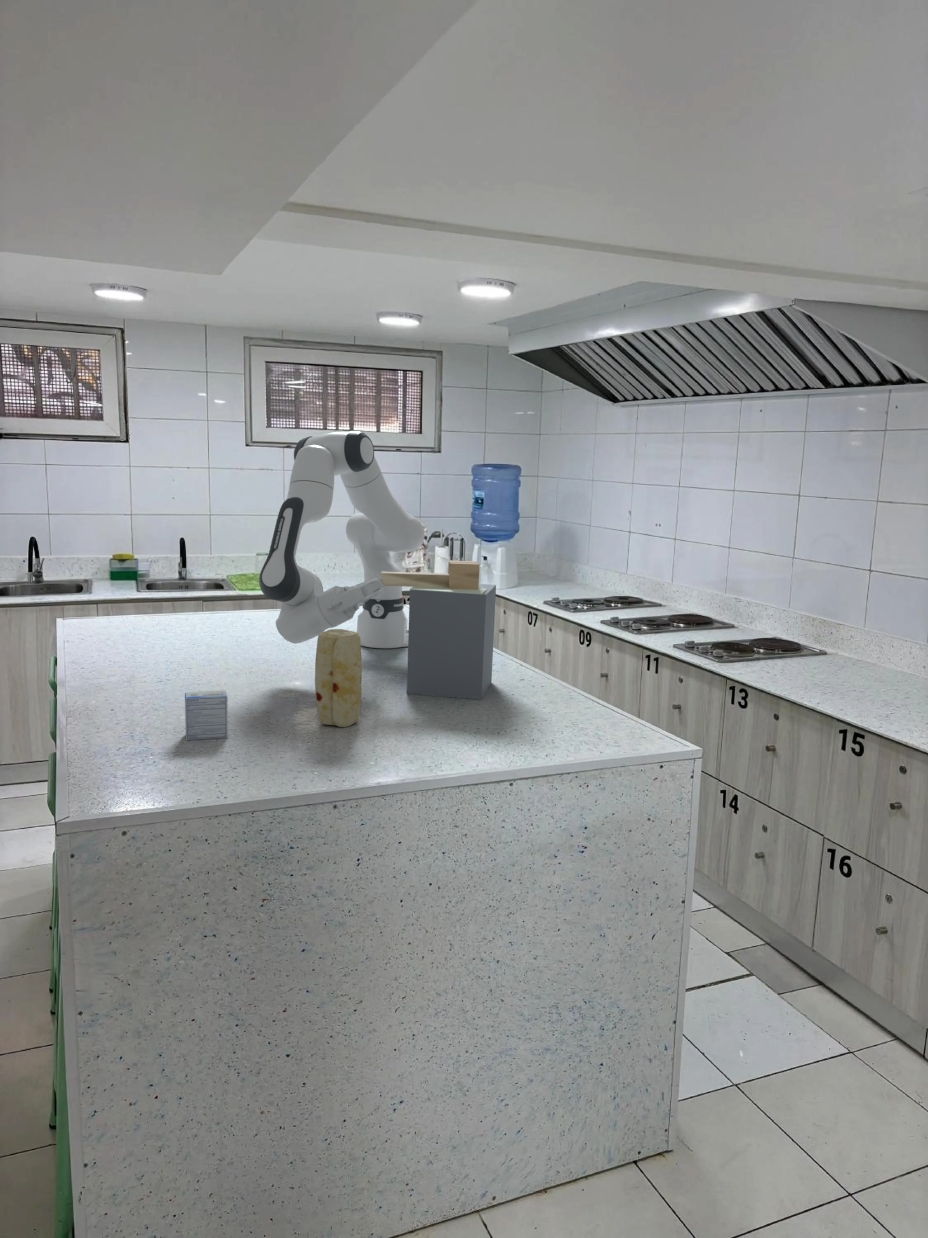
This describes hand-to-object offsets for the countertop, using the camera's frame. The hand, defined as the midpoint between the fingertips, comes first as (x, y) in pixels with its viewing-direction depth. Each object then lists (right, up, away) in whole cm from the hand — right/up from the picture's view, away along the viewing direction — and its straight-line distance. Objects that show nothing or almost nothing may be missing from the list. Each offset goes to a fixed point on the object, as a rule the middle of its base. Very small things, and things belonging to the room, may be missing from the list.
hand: (387, 579), depth 210 cm
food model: (-8, -31, -26) cm, 42 cm away
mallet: (+11, -1, +1) cm, 11 cm away
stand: (+15, -26, +7) cm, 31 cm away
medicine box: (-32, -33, -37) cm, 59 cm away
